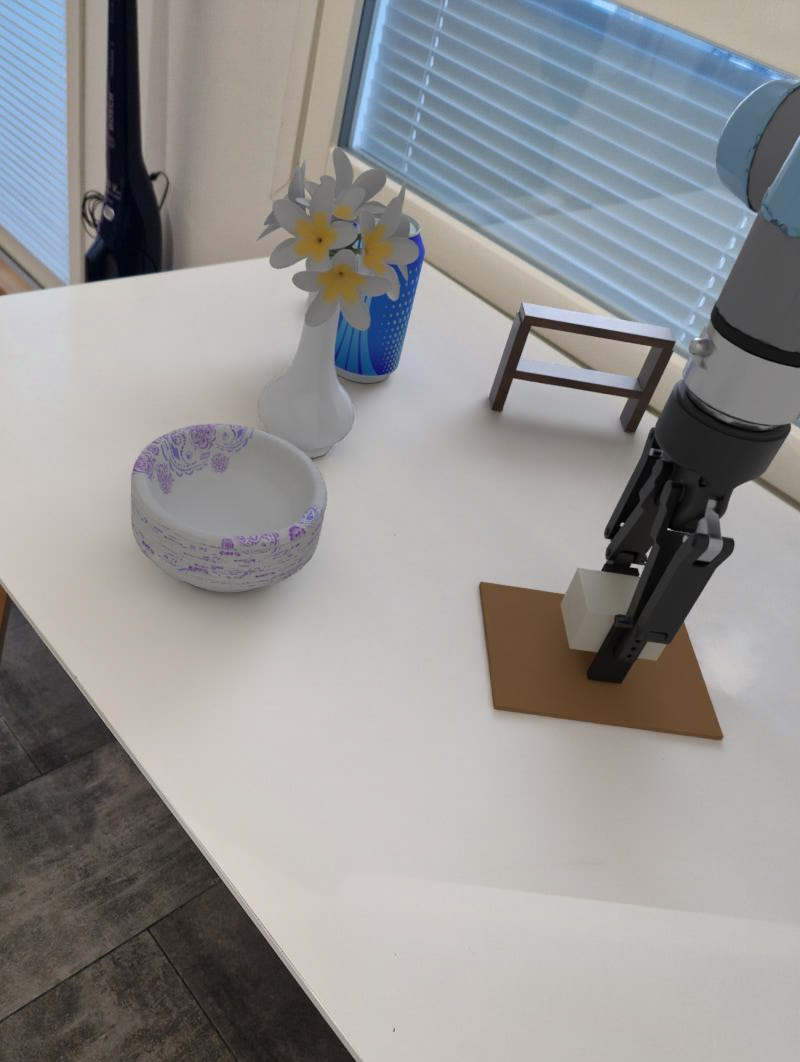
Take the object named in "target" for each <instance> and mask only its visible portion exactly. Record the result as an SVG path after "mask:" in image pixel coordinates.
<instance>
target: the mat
mask: <svg viewBox="0 0 800 1062" xmlns="http://www.w3.org/2000/svg"><path fill="white" fill-rule="evenodd" d="M479 593H480V600H481V601H480V602H481V610H482V616H483V626H484V634H485V642H486V651H487V659H488V667H489V668H488V669H489V677H490V684H491V685H490V686H491V693H492V701H493V709H494V710H500V711H508V712H514V713H521V714H529V715H530V714H531V715H536V716H544V717H551V718H558V719H565V720H571V721H572V720H573V721H580V722H587V723H593V724H602V725H609V726H616V727H622V728H623V727H624V728H631V729H638V730H645V731H653V732H659V733H660V732H661V733H667V734H674V735H680V736H689V737H694V738H703V739H709V740H710V739H711V740H718V741H722V740H723V739H724V734H723V731H722V728H721V726H720V722H719V719H718V716H717V714H716V713H717V712H716V711H715V707H714V704H713V702H712V699H711V695H710V693H709V689H708V687H707V684H706V681H705V678H704V675H703V673H702V670H701V667H700V664H699V660H698V658H697V654H696V652H695V650H694V646H693V644H692V641H691V637H690V635H689V632H688V628H687V626H686V623H685V621H684V622H683V624H682V625H681V627H680V629H679V630H678V632H677V633H676V635H675V637H674V638H673V640H672V642H671V643H670V644H668V645H666V646H665V648H664V649H663V651H662V653H661V654H660V656H659V657H658V659H657V661H654V660H647V659H640V658H638V659H637V660H636V661H635V662H634V663H633V665H632V667H631V668H630V670H629V672H628V673H627V675H626V677H625V678H624V680H623V682H622V683H621V684H617V683H610V682H603V681H596V680H589V679H588V677H587V673H586V672H587V670H588V669H589V667H590V665H591V663H592V661H593V659H594V658H595V656H596V654H597V652H591V651H584V650H577V649H570V648H569V643H568V638H567V634H566V629H565V624H564V619H563V615H562V610H561V605H560V604H561V602H562V600H563V598H564V596H565V593H560V592H554V591H548V590H540V589H534V588H527V587H521V586H520V587H519V586H513V585H506V584H501V583H493V582H486V581H480V582H479Z"/></svg>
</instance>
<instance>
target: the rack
mask: <svg viewBox="0 0 800 1062" xmlns="http://www.w3.org/2000/svg"><path fill="white" fill-rule="evenodd" d="M532 327H535V328H536V327H537V328H542V329H546V330H547V329H548V330H554V331H558V332H559V331H560V332H564V333H570V334H576V335H582V336H588V337H593V338H600V339H605V340H611V341H617V342H622V343H627V344H628V343H629V344H633V345H634V344H635V345H640V346H646V347H650V350H649V351H648V353H647V355H646V358H645V360H644V362H643V365H642V367H641V369H640V371H639V373H638V375H637V377H635V376H630V375H629V376H628V375H623V374H617V373H612V372H611V373H610V372H605V371H599V370H594V369H587V368H582V367H576V366H571V365H563V364H559V363H552V362H545V361H540V360H535V359H528V358H523V357H522V354H523V351H524V348H525V346H526V343H527V340H528V337H529V334H530V331H531V329H532ZM676 343H677V340H676V338H675V336H674V334H673V332H672V330H671V328H670V327H666V326H660V325H655V324H648V323H643V322H638V321H631V320H625V319H620V318H614V317H610V316H609V317H608V316H604V315H598V314H591V313H586V312H582V311H581V312H580V311H575V310H569V309H564V308H558V307H553V306H547V305H540V304H535V303H530V302H523V301H521V303H520V306H519V309H518V310H517V311H516V312H515V316H514V318H513V321H512V325H511V327H510V331H509V334H508V337H507V340H506V343H505V346H504V349H503V351H502V355H501V358H500V361H499V364H498V367H497V370H496V373H495V376H494V379H493V383H492V386H491V389H490V392H489V394H488V395H489V402H490V407H491V408H490V409H491V410H492V411H497V412H502V411H503V409H504V407H505V404H506V401H507V398H508V394H509V392H510V389H511V386H512V384H513V380H520V381H526V382H531V383H537V384H544V385H549V386H554V387H555V386H556V387H562V388H567V389H573V390H579V391H585V392H591V393H596V394H602V395H603V394H604V395H609V396H613V397H614V396H616V397H621V398H626V399H627V400H626V402H625V404H624V407H623V409H622V411H621V413H620V415H619V420H620V422H621V425H622V428H623V430H624V432H626V433H631V434H635V433H636V432H637V429H638V428H639V425H640V423H641V421H642V420H643V417H644V415H645V413H646V411H647V408H648V406H649V405H650V402H651V400H652V398H653V396H654V394H655V392H656V390H657V388H658V386H659V384H660V382H661V379H662V377H663V375H664V373H665V370H666V369H667V366H668V364H669V363H670V361H671V359H672V356H673V354H674V351H675V350H674V348H675V345H676Z"/></svg>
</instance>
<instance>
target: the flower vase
mask: <svg viewBox="0 0 800 1062" xmlns="http://www.w3.org/2000/svg"><path fill="white" fill-rule="evenodd" d="M332 162H333V168H334V173H335V178H334V176H331V175H328V174H323V175H320V177H319V182H320V183H316V182H315V181H312V180H311V181H310V180H307V181H305V180H306V167H307V157H305V158H304V159H303V162H302V164H298V165H297V167H296V168H295V170H294V172H293V174H292V177H291V179H290V182H289V185H288V188H287V193H286V194H285V195H284V197H283V198H278V199H276V200H274V202H273V203H272V206H271V209H272V210H271V212H270V213H269V214H268V215H267V217H266V218H265V220H264V222H263V225H264V226H266V228H265V229H264V230H263V231H262V232H261V233H260V235H259V236H258V237H257V239H256V240H255V241H256V242H258V241H259V240H261V239H263V238H264V237H266V236H267V235H269V234H271V233H273V232H274V231H276V230H278V229H280V228H282V229H283V230H284V231H286V232H287V233H288V234H289V235H292V236H293V237H288V238H286V239H284V240H283V241H282V242H280V243H279V244H278V245H277V246H276V247H275V248H274V249H273V251H272V252H271V254H270V255H269V260H268V261H269V262H268V263H269V265H270V266H271V268H273V269H276V270H282V269H287V268H289V267H292V266H294V265H296V264H298V263H299V262H301V261H303V260H305V270H301V271H298V272H295V273H294V274H293V276H292V277H291V282H292V284H293V285H294V286H295V287H296V288H298V289H299V290H301V291H304V292H308V295H307V303H306V309H305V312H304V319H303V324H302V329H301V334H300V338H299V342H298V346H297V349H296V352H295V355H294V357H293V359H292V360H291V362H290V364H289V366H288V367H287V368H286V369H285V370H284V371H283V372H281V373H280V374H278V375H276V376H275V377H274V378H272V379H271V381H269V382H268V383H267V384H266V385H265V386H264V388H263V390H262V391H261V395H260V397H259V399H258V400H257V401H258V402H257V414H258V415H257V416H258V418H259V420H260V421H261V424H262V426H263V428H264V429H265V430H266V432H267V433H270V434H272V435H275V436H277V437H279V438H281V439H283V440H286V441H287V442H289V443H291V444H292V445H294V446H295V447H297V448H298V449H300V450H301V451H302V452H303V453H305V454H306V455H307V456H308V457H309V458H310V459H314V458H319V457H322V456H324V455H326V454H327V453H329V452H330V451H331V449H332V448H333V446H335V445H336V444H338V443H339V442H342V441H343V440H344V439H345V438H346V437H347V436H348V434H349V433H350V432H351V431H352V429H353V426H354V422H355V408H354V404H353V400H352V397H351V396H350V394H349V392H348V391H347V389H346V388H345V386H344V385H343V384H342V383H341V381H340V379H339V377H338V376H339V375H338V374H337V373H336V368H335V344H336V336H337V329H338V322H339V315H340V310H341V312H342V314H343V316H344V318H345V319H346V321H347V322H348V323H349V324H350V325H351V326H352V327H354V328H355V329H357V330H361V331H362V330H363V331H364V330H366V329H368V328H369V326H370V322H371V319H370V314H369V311H368V308H367V306H366V304H365V302H364V300H363V298H362V295H361V293H362V294H363V295H365V296H369V297H375V296H380V295H383V294H385V293H386V294H387V296H388V297H389V298H390V299H391V300H392V301H396V300H398V298H399V293H400V286H399V280H398V277H397V274H396V272H395V270H394V269H393V268H392V267H391V266H390V265H388V264H393V265H397V266H398V267H399V269H400V271H401V273H402V274H403V276H404V278H405V279H406V281H408V272H407V264H410V263H412V262H414V261H415V260H416V259H417V258H418V256H419V249H418V246H417V245H416V244H415V242H413V241H412V240H410V239H408V238H409V235H410V221H409V218H408V217H407V216H402V217H401V215H402V213H403V206H404V203H405V199H406V188H407V187H406V185H407V181H406V180H405V181H403V183H402V186H401V188H400V190H399V192H398V194H397V196H394V197H393V198H392V199H391V200H390V201H389V202H388V203H387V205H385V204H384V203H381V202H380V201H377V200H371V199H373V198H374V197H375V196H376V195H378V194H379V193H380V192H381V191H383V188H384V187H385V185H386V183H387V174H386V173H385V172H384V170H382V169H380V168H370V169H367V170H365V171H363V172H362V173H360V174H359V176H357V177H356V179H354V178H355V173H354V168H353V164H352V162H351V160H350V158H349V156H348V155H347V153H346V152H345V151H344V150H343V149H342V148H340V147H334V149H333V151H332ZM305 190H306V191H307V193H308V195H309V196H310V199H309V198H307V197H306V191H305ZM307 210H308V213H309V214H308V213H307ZM375 218H376V219H379V221H378V223H377V224H376V221H375ZM353 223H356V224H359V228H360V232H361V233H359V234H358V230H357V228H356V227H355V226H354V225H353ZM375 224H376V225H375ZM359 239H362V248H356V247H355V246H353V245H354V244H355V243H356V241H358V240H359ZM359 255H361V260H360V263H359V267H358V259H359ZM386 263H387V264H386ZM357 267H358V272H357ZM360 292H361V293H360Z"/></svg>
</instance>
